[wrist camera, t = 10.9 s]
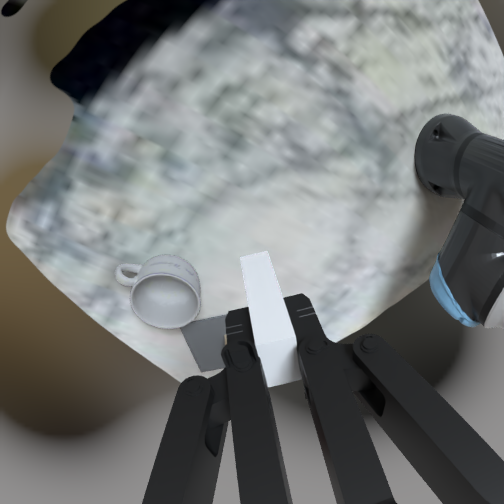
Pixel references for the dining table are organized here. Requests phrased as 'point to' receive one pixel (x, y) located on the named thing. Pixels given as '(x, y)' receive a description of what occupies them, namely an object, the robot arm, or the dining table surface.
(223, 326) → the mat
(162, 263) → the teacup
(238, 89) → the dining table surface
